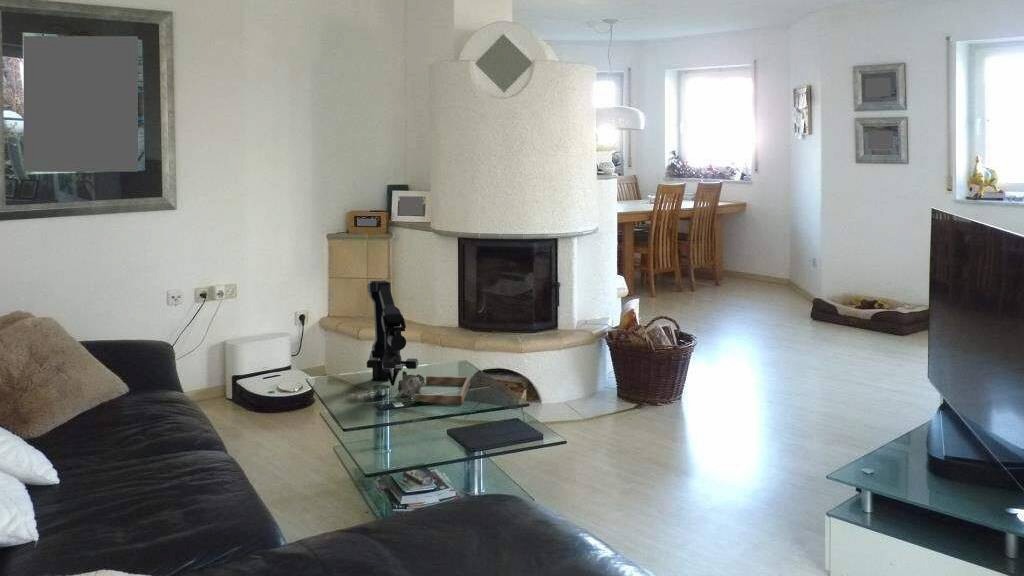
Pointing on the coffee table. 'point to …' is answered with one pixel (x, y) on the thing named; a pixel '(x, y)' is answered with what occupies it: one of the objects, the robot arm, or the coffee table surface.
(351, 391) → the coffee table surface
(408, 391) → the decorative stone
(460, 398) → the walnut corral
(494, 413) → the coffee table surface
